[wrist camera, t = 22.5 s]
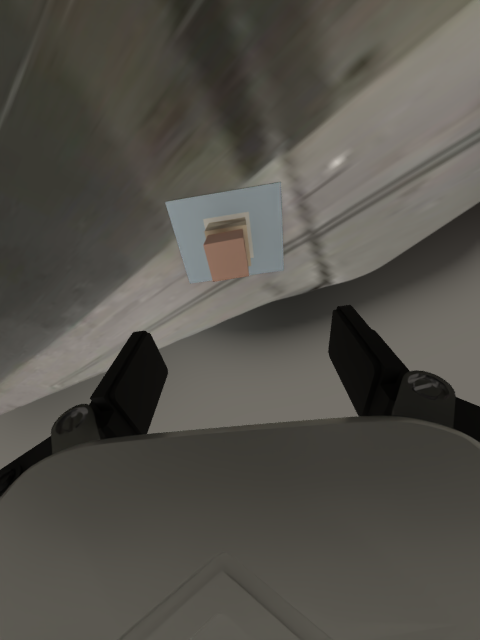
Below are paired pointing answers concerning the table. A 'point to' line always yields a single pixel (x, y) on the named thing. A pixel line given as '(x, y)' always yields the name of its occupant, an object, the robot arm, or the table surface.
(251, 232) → the board
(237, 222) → the base block
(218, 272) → the top block
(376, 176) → the table surface
